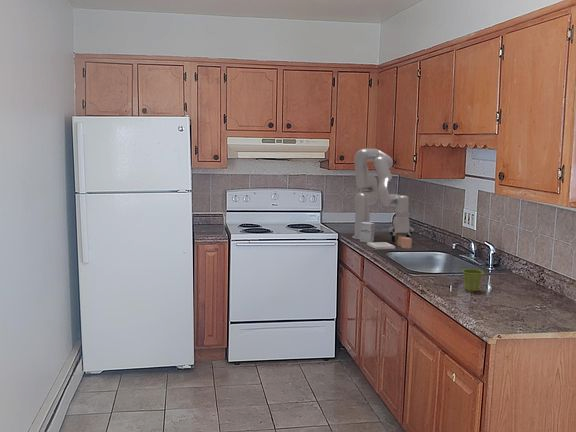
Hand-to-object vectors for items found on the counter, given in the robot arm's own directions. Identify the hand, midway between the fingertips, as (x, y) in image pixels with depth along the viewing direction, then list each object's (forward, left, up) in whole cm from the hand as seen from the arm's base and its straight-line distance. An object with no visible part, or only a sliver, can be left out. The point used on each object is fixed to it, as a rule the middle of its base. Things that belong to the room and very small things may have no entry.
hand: (400, 241), depth 390 cm
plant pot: (+113, -15, -2) cm, 114 cm away
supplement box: (-13, -18, -2) cm, 22 cm away
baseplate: (+5, -15, -2) cm, 16 cm away
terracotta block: (+9, 0, -2) cm, 9 cm away
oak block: (0, 0, -2) cm, 2 cm away
